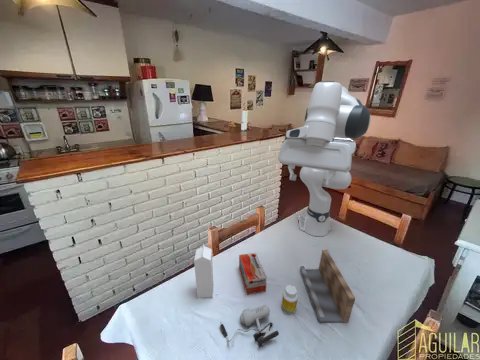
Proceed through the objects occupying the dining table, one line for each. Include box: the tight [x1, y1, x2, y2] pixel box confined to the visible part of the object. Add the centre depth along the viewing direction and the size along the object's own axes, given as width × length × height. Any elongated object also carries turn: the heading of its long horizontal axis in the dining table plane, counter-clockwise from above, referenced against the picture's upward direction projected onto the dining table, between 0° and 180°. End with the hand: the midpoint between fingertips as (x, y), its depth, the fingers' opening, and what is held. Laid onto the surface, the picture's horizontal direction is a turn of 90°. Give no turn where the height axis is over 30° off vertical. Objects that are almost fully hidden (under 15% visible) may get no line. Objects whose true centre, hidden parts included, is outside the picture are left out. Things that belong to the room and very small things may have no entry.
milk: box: [193, 243, 214, 299], centre depth 85 cm, size 6×6×22 cm
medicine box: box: [238, 252, 268, 296], centre depth 94 cm, size 15×8×8 cm, turn 14°
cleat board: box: [299, 249, 356, 324], centre depth 87 cm, size 24×10×12 cm, turn 2°
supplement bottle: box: [281, 284, 299, 315], centre depth 82 cm, size 5×5×10 cm
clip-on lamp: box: [219, 304, 279, 348], centre depth 74 cm, size 12×6×18 cm
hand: (308, 182), depth 64 cm, fingers open, 8 cm apart
